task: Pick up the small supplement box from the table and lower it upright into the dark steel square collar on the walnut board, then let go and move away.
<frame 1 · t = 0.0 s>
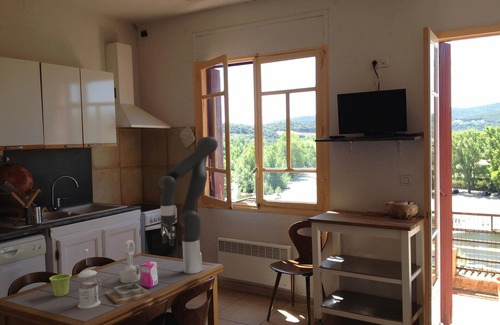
hand: (168, 244, 225), 17 cm above the table, tool pointing down, fingers open, 8 cm apart
plant pot: (61, 294, 205), on the table
wooden board with frame: (128, 295, 200), on the table
supplement box: (150, 286, 212), on the table
engine component: (130, 279, 224), on the table
french press: (90, 304, 190), on the table
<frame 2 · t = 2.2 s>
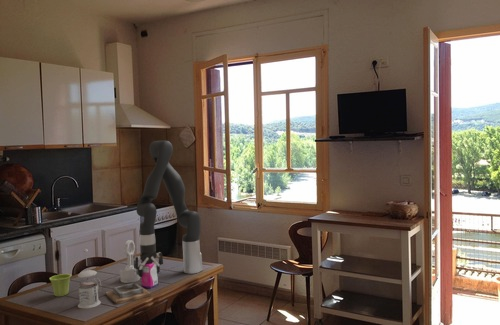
hand: (149, 275, 212), 5 cm above the table, tool pointing down, fingers open, 8 cm apart
supplement box: (150, 286, 212), on the table, touching gripper
everything else where it was.
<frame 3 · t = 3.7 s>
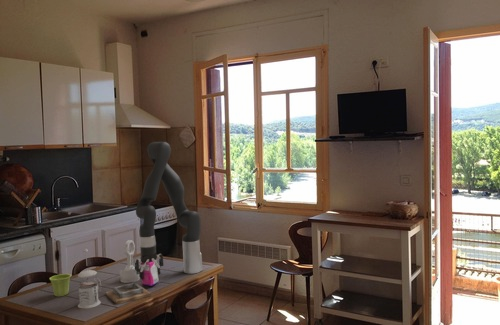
hand: (150, 277, 212), 4 cm above the table, tool pointing down, fingers closed on supplement box, 7 cm apart
supplement box: (150, 284, 213), point 1 cm above the table, touching gripper
everything else where it was.
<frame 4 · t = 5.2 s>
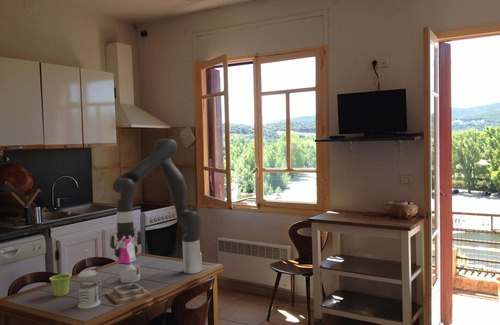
hand: (126, 255, 200), 19 cm above the table, tool pointing down, fingers closed on supplement box, 7 cm apart
supplement box: (126, 263, 200), point 15 cm above the table, touching gripper
everything else where it was.
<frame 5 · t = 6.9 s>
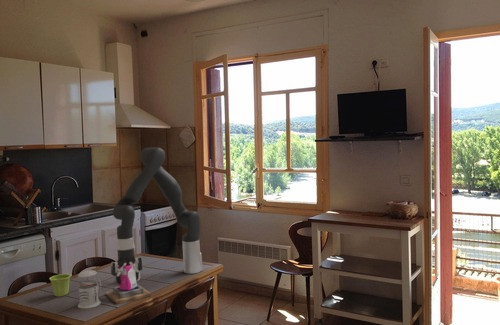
hand: (127, 281, 200), 6 cm above the table, tool pointing down, fingers closed on supplement box, 7 cm apart
supplement box: (128, 289, 200), point 3 cm above the table, touching gripper
everything else where it was.
when the fingers open (6 cm above the table, at t = 7.6 s): supplement box drops 1 cm, resting on wooden board with frame.
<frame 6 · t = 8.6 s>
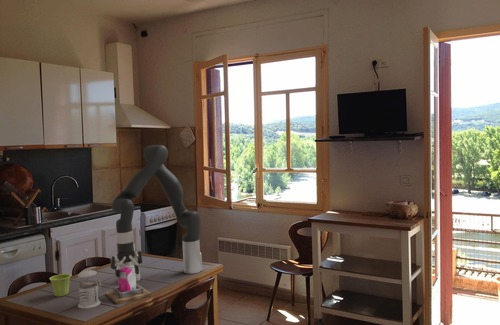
hand: (127, 275, 200), 10 cm above the table, tool pointing down, fingers open, 8 cm apart
supplement box: (127, 293, 200), point 1 cm above the table, touching wooden board with frame
everything else where it was.
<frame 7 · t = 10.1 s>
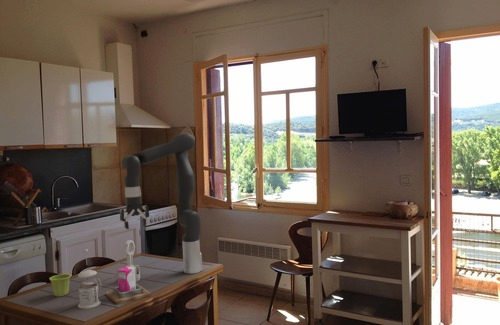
hand: (135, 227, 214), 29 cm above the table, tool pointing down, fingers open, 8 cm apart
nothing on the table moved.
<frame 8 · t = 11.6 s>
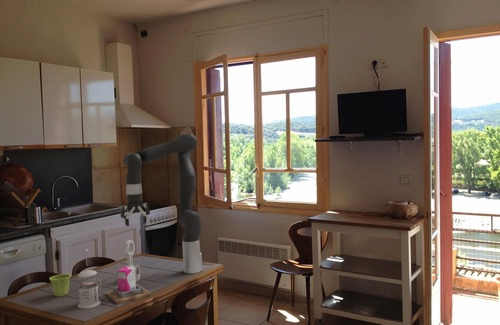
hand: (136, 224, 215), 30 cm above the table, tool pointing down, fingers open, 8 cm apart
nothing on the table moved.
at the end: supplement box 0.3 cm off-centre on the wooden board with frame, point 1.0 cm above the wooden board with frame's base; supplement box tilted 0°; the gripper is holding nothing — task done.
